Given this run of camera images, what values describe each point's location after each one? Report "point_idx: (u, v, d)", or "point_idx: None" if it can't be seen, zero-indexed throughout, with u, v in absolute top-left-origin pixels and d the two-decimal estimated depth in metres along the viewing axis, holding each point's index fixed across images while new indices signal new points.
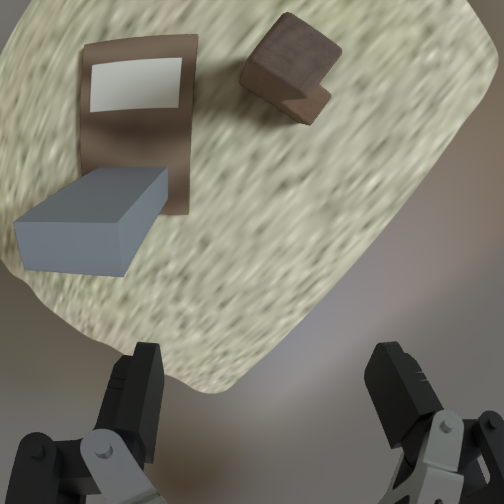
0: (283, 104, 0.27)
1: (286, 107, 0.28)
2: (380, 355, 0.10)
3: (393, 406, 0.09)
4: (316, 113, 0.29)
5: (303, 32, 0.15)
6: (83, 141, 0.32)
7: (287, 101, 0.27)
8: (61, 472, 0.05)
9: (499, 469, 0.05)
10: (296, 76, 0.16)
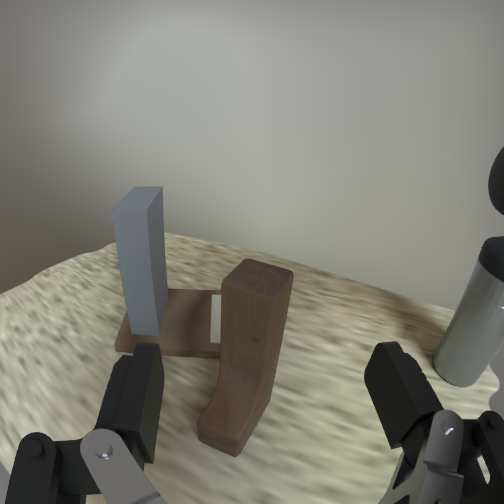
0: (217, 385, 0.28)
1: (214, 391, 0.28)
2: (380, 355, 0.10)
3: (393, 406, 0.09)
4: (212, 425, 0.25)
5: (278, 276, 0.24)
6: (190, 291, 0.50)
7: (220, 388, 0.27)
8: (61, 472, 0.05)
9: (499, 469, 0.05)
10: (239, 274, 0.24)
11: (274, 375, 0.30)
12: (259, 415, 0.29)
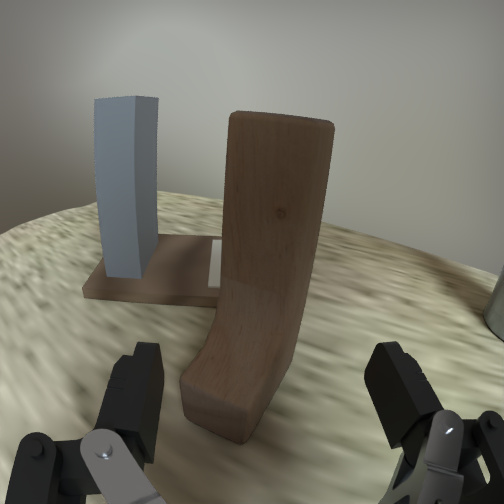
0: (214, 320, 0.18)
1: (209, 331, 0.18)
2: (380, 355, 0.10)
3: (393, 406, 0.09)
4: (204, 385, 0.15)
5: None
6: (186, 236, 0.40)
7: (220, 324, 0.18)
8: (61, 472, 0.05)
9: (499, 469, 0.05)
10: None
11: (302, 312, 0.21)
12: (279, 378, 0.20)
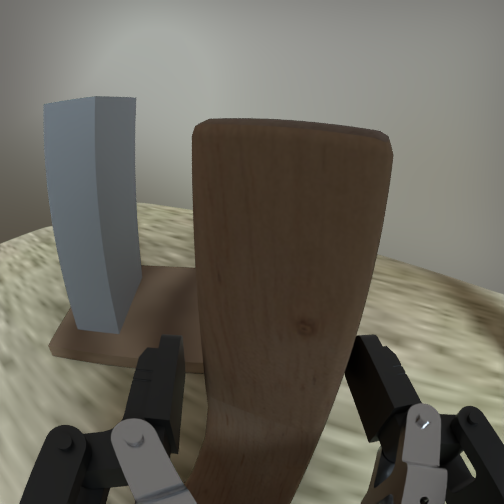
0: (204, 442, 0.11)
1: (199, 455, 0.11)
2: (358, 348, 0.10)
3: (370, 399, 0.09)
4: None
5: (362, 128, 0.07)
6: (176, 269, 0.33)
7: (213, 449, 0.11)
8: (88, 467, 0.05)
9: (485, 465, 0.05)
10: None
11: None
12: None
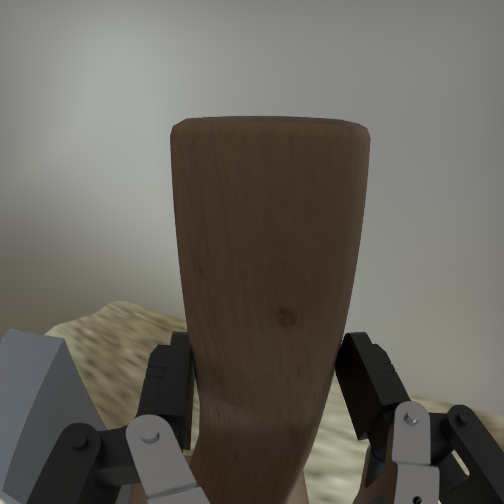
0: (198, 439, 0.11)
1: (194, 452, 0.11)
2: (348, 345, 0.11)
3: (359, 396, 0.09)
4: None
5: None
6: None
7: (207, 446, 0.11)
8: (101, 465, 0.05)
9: (478, 464, 0.05)
10: None
11: (324, 407, 0.13)
12: (295, 485, 0.12)
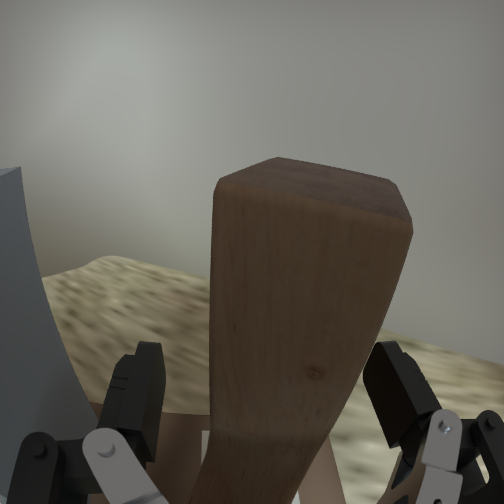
0: (205, 459, 0.11)
1: (201, 471, 0.11)
2: (378, 354, 0.10)
3: (391, 405, 0.09)
4: None
5: (376, 183, 0.08)
6: None
7: (214, 466, 0.11)
8: (63, 471, 0.05)
9: (498, 469, 0.05)
10: (267, 170, 0.07)
11: None
12: None
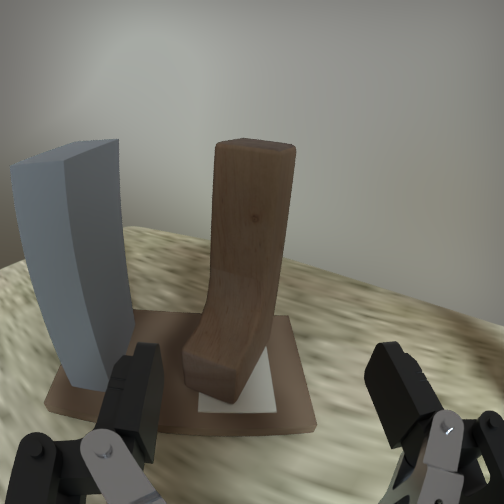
0: (206, 303, 0.23)
1: (203, 312, 0.23)
2: (380, 355, 0.10)
3: (393, 406, 0.09)
4: (201, 353, 0.20)
5: (280, 144, 0.20)
6: (170, 314, 0.31)
7: (211, 305, 0.23)
8: (61, 472, 0.05)
9: (499, 469, 0.05)
10: (235, 141, 0.19)
11: (276, 296, 0.26)
12: (259, 350, 0.25)
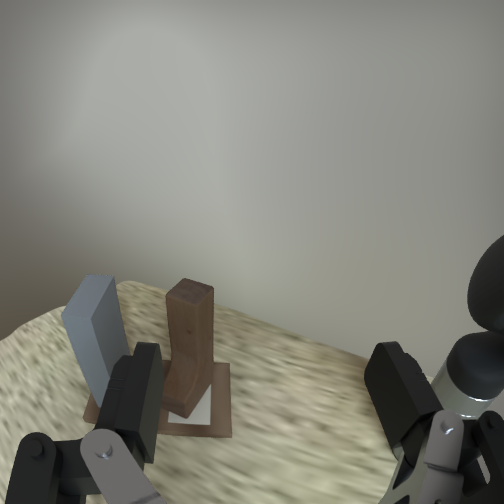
0: None
1: (169, 370, 0.39)
2: (380, 355, 0.10)
3: (393, 406, 0.09)
4: (167, 393, 0.37)
5: (202, 290, 0.36)
6: None
7: (173, 367, 0.39)
8: (61, 472, 0.05)
9: (499, 469, 0.05)
10: (176, 289, 0.36)
11: (212, 359, 0.43)
12: (203, 389, 0.42)
